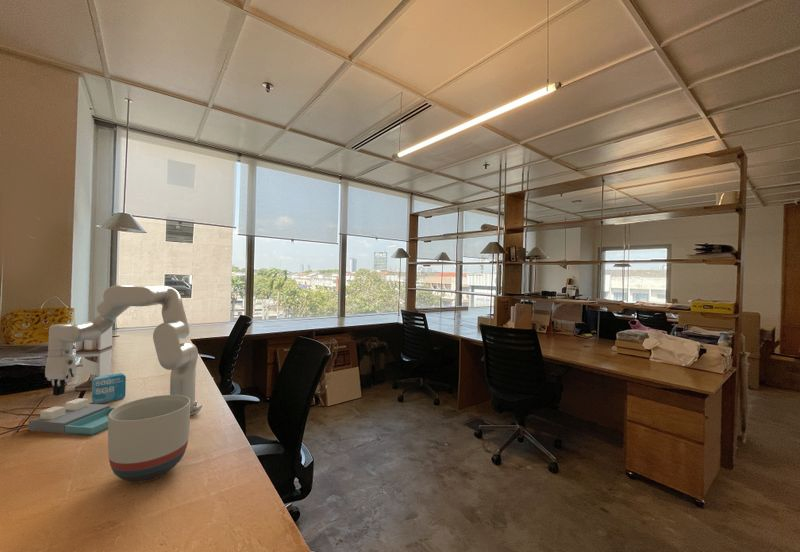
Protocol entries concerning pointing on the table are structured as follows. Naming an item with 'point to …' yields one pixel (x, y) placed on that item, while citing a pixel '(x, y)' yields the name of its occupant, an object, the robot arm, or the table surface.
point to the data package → (108, 388)
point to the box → (90, 424)
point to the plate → (64, 419)
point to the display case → (95, 357)
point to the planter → (148, 436)
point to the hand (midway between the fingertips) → (58, 394)
